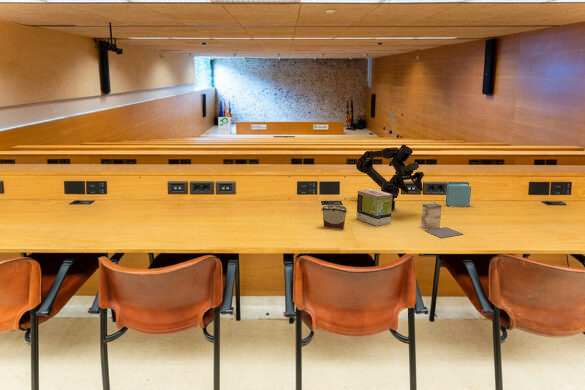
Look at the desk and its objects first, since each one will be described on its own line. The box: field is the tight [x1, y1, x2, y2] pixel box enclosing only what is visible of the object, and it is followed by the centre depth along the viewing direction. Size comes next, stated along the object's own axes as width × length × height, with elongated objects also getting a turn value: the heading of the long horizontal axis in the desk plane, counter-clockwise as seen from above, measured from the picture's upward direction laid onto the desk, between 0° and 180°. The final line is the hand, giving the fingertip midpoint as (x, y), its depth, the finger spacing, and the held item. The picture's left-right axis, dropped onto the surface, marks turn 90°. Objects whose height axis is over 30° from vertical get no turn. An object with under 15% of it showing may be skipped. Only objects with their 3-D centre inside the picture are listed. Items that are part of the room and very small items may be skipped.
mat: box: [423, 226, 464, 239], centre depth 205 cm, size 11×13×1 cm
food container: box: [321, 204, 348, 230], centre depth 212 cm, size 12×6×10 cm, turn 71°
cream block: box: [420, 202, 443, 230], centre depth 212 cm, size 5×7×11 cm
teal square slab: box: [445, 183, 472, 208], centre depth 249 cm, size 12×4×12 cm, turn 86°
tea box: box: [356, 188, 393, 227], centre depth 220 cm, size 15×10×15 cm
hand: (415, 191), depth 223 cm, fingers open, 9 cm apart
